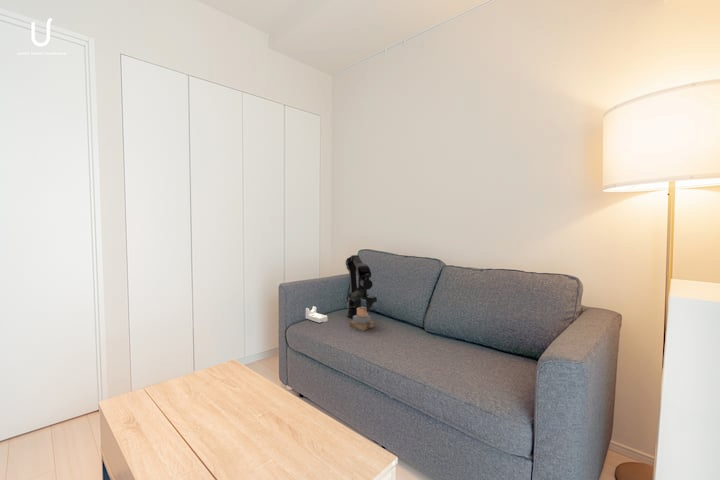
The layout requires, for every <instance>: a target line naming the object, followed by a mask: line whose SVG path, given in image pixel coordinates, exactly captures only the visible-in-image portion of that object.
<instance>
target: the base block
mask: <svg viewBox="0 0 720 480" xmlns="http://www.w3.org/2000/svg"><path fill="white" fill-rule="evenodd" d="M350 326H351V327H350ZM349 327H350V328H353V327H354V328H353V329H356V330H360V331H362V332H363V331H366V330H369V329H371V328H374V327H376V321H374V320H371V321H370V322H368V323H366V324H364V325H363V324H359V323H355V322H353V320H351V321H349Z"/></svg>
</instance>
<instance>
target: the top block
mask: <svg viewBox="0 0 720 480" xmlns="http://www.w3.org/2000/svg"><path fill="white" fill-rule="evenodd" d="M352 321H353V322H355V323H359V324H363V325H364V324H366V323H368V322H370V321H372V315H369V314H368V316H367V317H364V318H362V317H359V316H357V315H355V316H353V318H352Z"/></svg>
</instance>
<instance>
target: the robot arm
mask: <svg viewBox="0 0 720 480" xmlns="http://www.w3.org/2000/svg"><path fill="white" fill-rule="evenodd" d="M345 266H346V270H347V271H348V274H349V289H350V291H349V292H350V293H348V299H347V302H346V308H347V309H348V314H347V316H346V317H347V318H349V319H353V316H355V315H357V308H359V307H362V300H361V299H363V300H365V305H366V307H367V313H368V314H369V312H370V311H371V308H372V306H373V304H375V303H377V302H378V297H377V296H373V295H370V296H369V293H368V290H371V289H372V288H373V285H374V283H373V281H372V280H371V279H370V278H372V272H371V269H370V266H369V265H368V264H366V263H364V262H363V260H362V259H361V258H360V256H359V255H357V254H353V255H350V257H347V258H346V260H345Z"/></svg>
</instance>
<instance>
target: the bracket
mask: <svg viewBox="0 0 720 480" xmlns="http://www.w3.org/2000/svg"><path fill="white" fill-rule="evenodd" d="M305 319H306V320H309V321H313V322H316V323H326V322H328V320H329V319H328V315H326V314H325V315H324V314H321V313H318V312H317V306H312V309H311V310H310V308H308V307H306V308H305Z"/></svg>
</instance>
